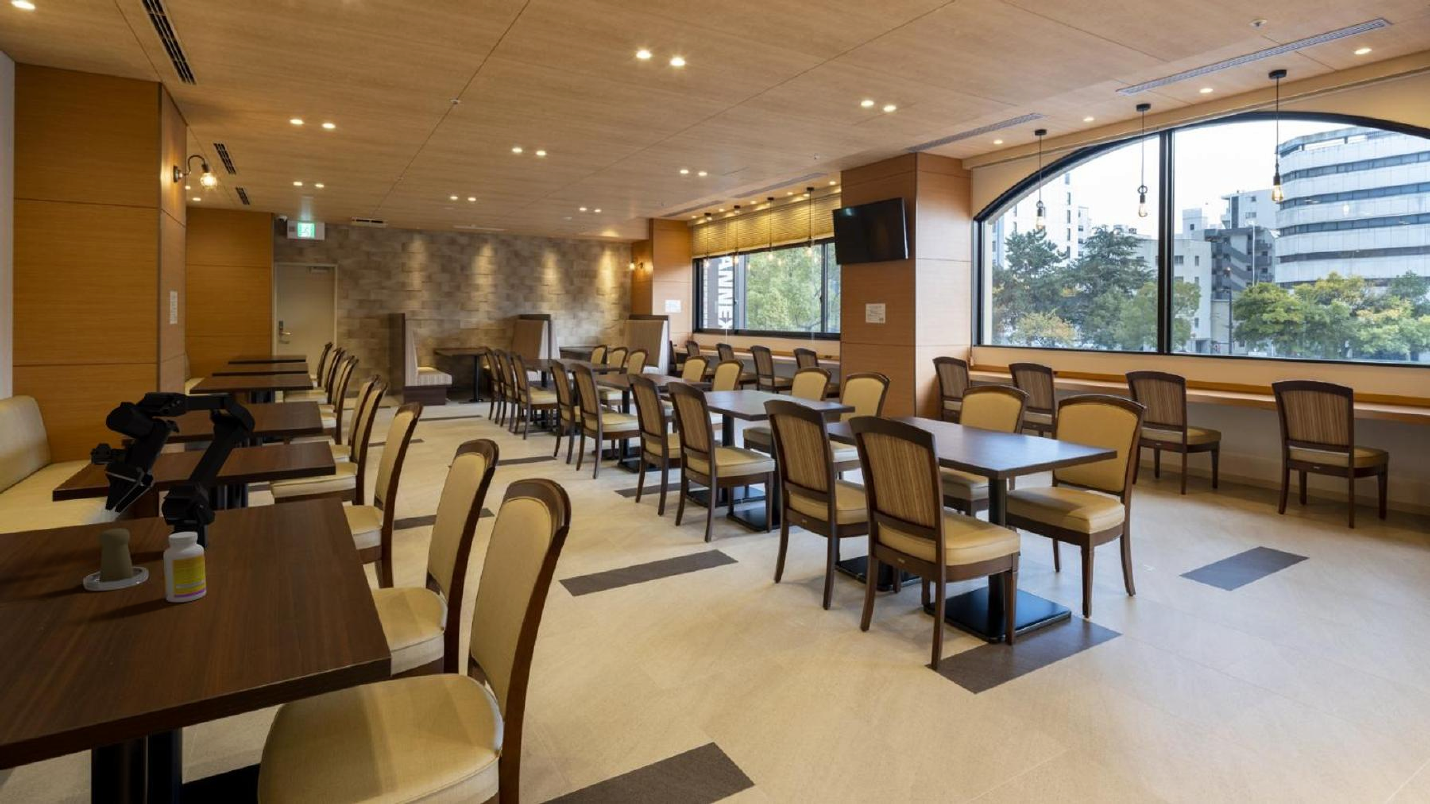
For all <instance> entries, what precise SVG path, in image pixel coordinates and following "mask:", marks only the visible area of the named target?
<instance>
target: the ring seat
mask: <svg viewBox="0 0 1430 804" xmlns="http://www.w3.org/2000/svg"><path fill="white" fill-rule="evenodd" d="M133 571H134V575H135V576H133V577H130V578H125V579H120V580H115V581H104V582H99V577H100V570H99V571H97V572H95V573H90V574H89V575H87V576H85V577H84V578H83V579H82V582H83V587H84V589H85V590H87V591H91V592H92V591H93V592H102V591H103V592H105V591H113V590H121V589H125V588H130V587H134V586H136V585H139V584H142V583H144V582H146V581H147V580H148V577H149V569H147V568H146V567H144V566H143V567H141V566H133Z"/></svg>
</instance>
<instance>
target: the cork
mask: <svg viewBox="0 0 1430 804" xmlns="http://www.w3.org/2000/svg"><path fill="white" fill-rule="evenodd" d="M130 540H131V533H130V531H129V530H127V528H120V527H119V528H110V529H107V530H106V529H105V530H104V531H102V532H101V533H100V534H99V536H98V543H99V545H100V546H101V547H102V551H101V559H100V568H99V571H100V577H99V582H104V581H115V580H120V579H125V578H130V577H133V576H135V575H134V571H133V567H134V566H133V563H132V558H131V554H130V550H129V546H128V543H129V541H130Z"/></svg>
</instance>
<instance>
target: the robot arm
mask: <svg viewBox="0 0 1430 804" xmlns="http://www.w3.org/2000/svg"><path fill="white" fill-rule="evenodd" d="M208 410H209V420H210V421H211V423H212V424H213V427H212V433H213V438H212V440H211V442H210V444H209V445H208V447H207V448H206V450H205V451H204V454H203V455H202V456H201V458H200V460H199V461H198V463H196V464H197V465H196V466H195V467H194V469H193V471H191V474H190V475H189V477H188V479H187V480H186V482H185V483H183V484H173V485H171V486H170V488H169V490H168V492H167V493H166V495H165V496H164V497H163V501H162V504H161V507H160V510H161V511H160V512H161V513H162V515H163V518H164V521H165V522H164V523H165V524H166V526H167V527H168V526H173V530H172V532H171V534H170V535H172V534H175V533H181V532H196V533H197V541H196V544H198V545H201V546H202V547H203V549H204V551H206V549H207V548H209V546H211V543H212V542H211V541H209V528H208V527H209V525H211V524H212V523H214V522H215V516H216V512H215V511H214V510H213V509H212V508H210V507H209V506H208V505H209V503H210V500H209V494H208V491H209V489H210V488H211V487H212V485H213V483H214V481H215V479H216V478H217V476H218V474H219V473H220V471H221V469H222V468H223V466H224V464H225V463H226V461H227V460H228V458H229V456H230V455H231V454H232V451H233V450H234V448H235V447H236V446H237V445H239V444H241V443H243V442H244V441H245V440H247V439H248V438H249V436H251V434H252V433H253V431H254V430H255V427H256V420H255V418H254V416H253V415H252V413H250V411H249V409H247V408H246V407H244V406H243V405H241V404H240V403H239V402H238V401H236V400H235V399H234V397H233V396H232V395H230V394H228V393H210V394H194V395H193V394H192V395H187V394H185V393H180V392H176V391H174V392H173V391H172V392H170V391H148V392H146V393H145V394H144V396H143V398H142V399H140V400H139V401H138V402H136V403H134V402H131V401H121V402H120V404H119V406H118V407H115V408H114V409H112V410H111V411H110V412H109V414H107V415H106V418H105V425H106V428H108V429H109V430H110V431H113V432H115V433H117V434H120V435H122V436H125V437H128V438H131V439H133V440H132V441H131V443H130V442H129V443H127V444H125V446H124V448H114V447H113V448H112V447H111V445H110V444H109V443H108V442H107V443H106V442H105V443H104V442H100V443H98V444H97V446H96V447H93V448H92V449H91V451H89V452H90V453H89V454H90V456H91V457H90V464H93V465H95V466H105V465H106V467H105V468H104V472H105V473H104V475H105V477H106V478H107V481H108V482H109V488H108V492H107V497H106V501H105V502H106V503H105V506H104V509H105V510H106V511H113V510H114V512H115V513H118V514H121V513H122V512H123V511H124V510H125V509H126V508H128V507H129V506H130V505H131V504H133V503H134V502H135V501H136V500H137V499H138V498H140V497H142V496H143V495H144V494H145V493H146V492H147V491H149V490H150V489H151V488H153V487H154V485H155V483H156V481H157V478H156V477H155V475H154V473H153V472H154V471H153V467H154V465H155V464H156V463H157V460H158V459H160V458H161V457H162V453H161V452H162V450H163V448H164V446H165V444H166V443H167V440H168V439H169V437H170V436H171V433H175V434H179V433H181V432H180V428H179V427H178V424H177V421H175V420H171V419H166V420H164V419H161V418H177V417H181V416H184V415H187V413H189V412H195V411H208ZM222 410H225V411H226V412H221V411H222ZM109 473H110V474H109Z"/></svg>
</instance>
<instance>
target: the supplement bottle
mask: <svg viewBox="0 0 1430 804" xmlns="http://www.w3.org/2000/svg"><path fill="white" fill-rule="evenodd" d="M196 541H197V533H196V532H181V533H175V534H172V535H171V534H169V536H168V543H169V547H168V548H167V549H165V550H164V552H163V569H164V571H163V572H164V589H165V599H166V600H167V601H168V602H170V603H185V602H186V603H187V602H191V601H195V600H198V599H201V598H203V597H204V596H205V595H206V593H207V581H206V579H207V577H206V564H205V561H206V560H205V550H204V549H203V547H202V546H201V545H198V544H196Z"/></svg>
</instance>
